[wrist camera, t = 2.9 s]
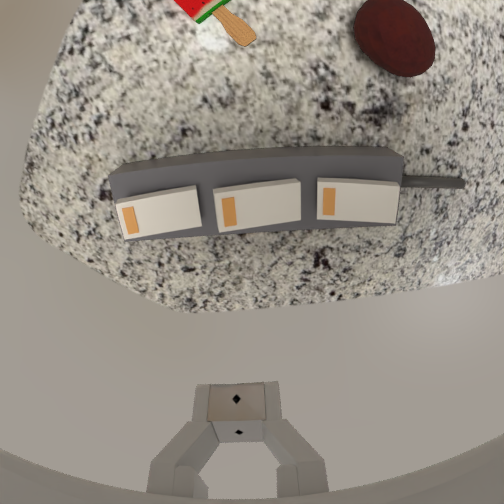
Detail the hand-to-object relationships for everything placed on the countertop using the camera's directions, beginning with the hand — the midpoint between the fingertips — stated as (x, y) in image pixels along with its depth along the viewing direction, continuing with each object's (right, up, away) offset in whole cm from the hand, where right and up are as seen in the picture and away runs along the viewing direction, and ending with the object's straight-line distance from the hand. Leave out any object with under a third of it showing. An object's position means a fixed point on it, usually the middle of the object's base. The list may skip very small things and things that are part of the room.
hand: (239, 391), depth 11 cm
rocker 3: (+9, +10, +15) cm, 20 cm away
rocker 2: (+1, +9, +15) cm, 17 cm away
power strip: (+6, +12, +20) cm, 24 cm away
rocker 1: (-7, +9, +15) cm, 19 cm away
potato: (+13, +26, +12) cm, 31 cm away
